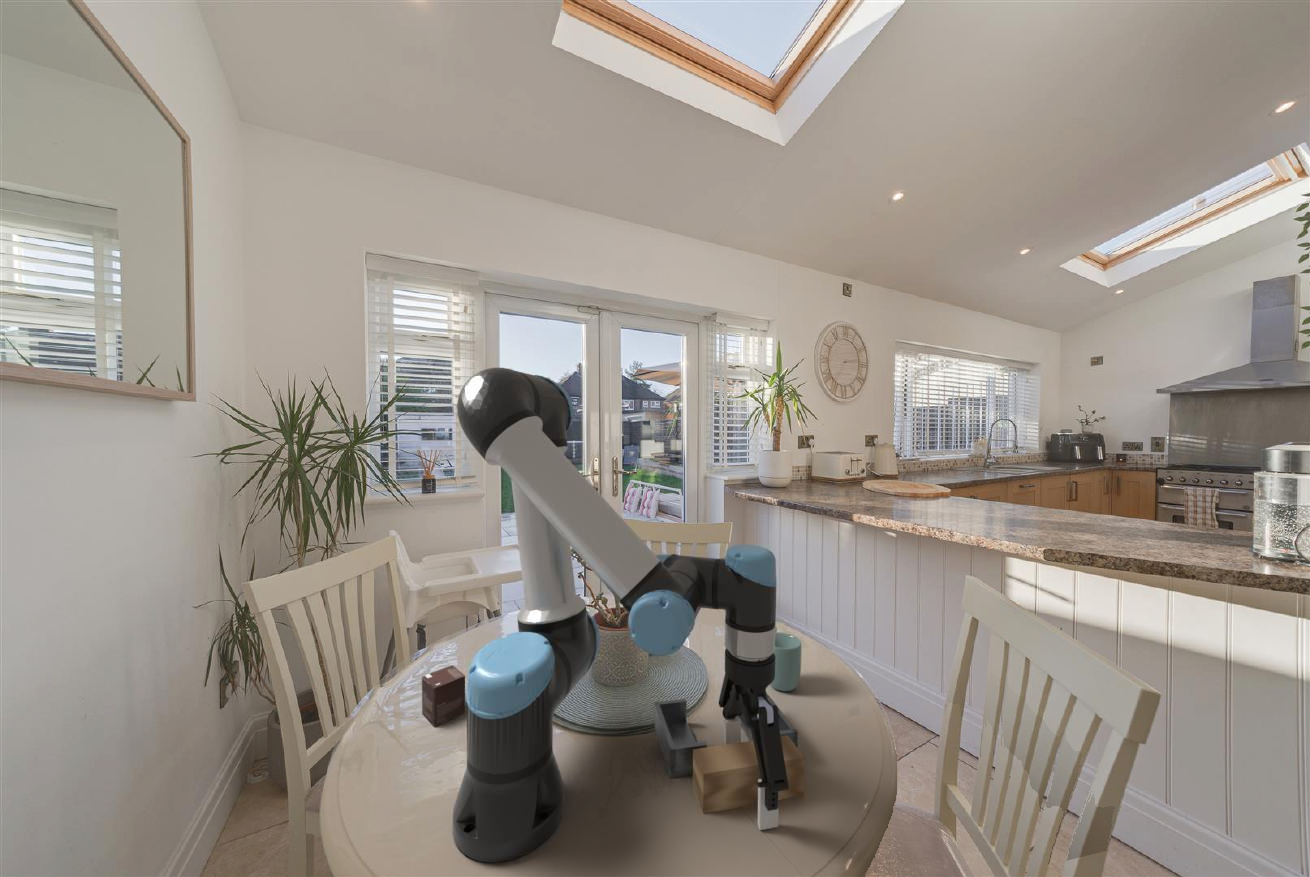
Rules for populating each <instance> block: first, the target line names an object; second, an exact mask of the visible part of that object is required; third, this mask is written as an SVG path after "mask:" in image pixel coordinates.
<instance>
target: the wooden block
mask: <svg viewBox="0 0 1310 877" xmlns="http://www.w3.org/2000/svg"><path fill="white" fill-rule="evenodd" d="M781 742H782V748H783V755H784V761H785V767H786V773H787V779H788V786H789V789H788V790H784V791H779V796H778V801H780V800H785V799H790V798H797V797H802V796H805V757H804V755H803V754H802V752H801V751H800V750H799V748H798V746H797V747H796V746H795V744H794V743H793V742H792V740H791V739H790V738H789V736H788V735H787V736H781ZM758 779H761V775H760V770H759V766H758V761H757V756H756V751H755V747H754V742H753V741H750V740H749V741H748V740H746V741H741V742H740V743H734V744H727V745H724V744H722V745H715V746H714V745H713V746H707V748H700V749H693V775H692V788H693V791H694V794H695V797H696V800H697V801H698V805H699V807H700V810H701V812H702V814H708V813H714V812H720V811H725V810H731V809H736V808H741V807H748V806H753V805H758V785H757V782H758Z"/></svg>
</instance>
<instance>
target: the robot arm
mask: <svg viewBox="0 0 1310 877" xmlns="http://www.w3.org/2000/svg"><path fill="white" fill-rule="evenodd" d="M574 409H575V408H574V404H573V401H572V399H571V397H570V394H569V393H568V392H567V391H566V389H565V388H564V387H563V386H562V385H561V384H559V383H557V382H556V381H554V380H551V379H550V378H548V377H545V376H543V375H538V374H530V373H527V372H522V371H517V370H515V369H510V368H505V367H491V368H486V369H483V370H480V371H478V372H476V373H475V374H472V376H470V378H468V379H467V381H466V382H465V383H464V384H463V386H462V388H461V389H460V392H459V394H458V398H457V403H456V410H457V418H458V421H459V424H460V427H461V429H462V431H463V432H464V436H466V438H467V440H468V441H469V443H470V444H471V446H473V448H474V450H476V452H477V453H478V454H479V455H480V456H481V457H482V458H483V460H485V462H486V463H487V464H488V465H491V466H500V467H501V468H502V470H503V471H504V472H505V473H506V474H507V475H508V477H509V478H510V480H511V488H512V498H513V506H514V515H515V524H516V526H515V527H516V532H517V533H516V534H517V542H518V551H519V552H518V554H519V560H520V569H521V578H522V585H523V586H522V588H523V595H524V596H523V598H524V604H523V606H522V608H520V610H519V611H518V613H517V615H516V617H517V626H518V628H517V629H518V632H513V633H509V634H507V635H506V636H505V637H498V638H495V639H493V640H492V641H489V642H488V643H487V644H485V645H484V646H483V647H481V648H480V650H479V651H477V652H476V654H475V655H474V656H473V659H472V660H471V662H470V663H469V664H470V665H469V667H468V671H467V682H466V685H465V702H466V769H465V771H464V775H463V778H462V781H461V784H460V787H459V790H458V792H457V796H456V799H455V802H454V805H453V812H452V838H453V840H454V843H455V845H456V847H457V849H458V850H459V851H460V852H461V853H462V854H464V855H465V856H466V855H467V857H468V858H471V859H472V860H475V861H478V862H484V861H485V862H484V863H499V862H506V861H510V860H513V859H517V858H520V857H523V856H525V855H526V854H528V853H530V852H532V851H534V850H536V848H537V847H539V846H541V845H542V844H543V843H544V842H545V841H546V840H548V838H549V837H550V836H551V835H552V834H553V833H554V831H555V830H556V829H557V827H558V825H559V824H560V822H561V820H562V817H563V814H564V810H565V785H564V784H565V783H564V779H563V777H562V773H561V771H560V768H559V765H558V762H557V759H556V756H555V753H554V751H553V750H554V749H553V746H554V744H553V740H554V738H553V736H554V735H553V734H554V728H553V727H554V714H555V711H557V709H558V708H559V707H560V705H561V704H562V702H563V701H565V699H566V698H567V696H568V695H569V694H570V693H571V691H572V690H573V689H574V688H575V687H576V686H577V684H579V682H580V681H581V679H582V678H583V677H584V676H585V675H587V672H589V671H590V669H591V667H592V665H593V664H594V661H595V660H596V658H597V655H598V652H599V649H600V645H601V644H600V642H601V634H600V629H599V626H598V624H597V621H596V620H595V618H594V616H591V615H590V612H589V611H588V610H587V604H586V601H585V599H584V598H583V597H580V596H579V595H578V594H577V593H576V592H577V591H576V585H575V577H574V575H575V574H574V568H573V567H574V566H573V557H572V550H571V548H572V549H573V550H574V551H575V553H576V554H577V555H578V556H579V557H580V558H581V560H583V561H584V564H586V565H587V566H588V567H589V569H591V571H592V572H593V573H594V574H595V575H596V577H597V578H598V579H599V580H600V582H602V583H603V584H604V585H605V587H606V588H607V589H608V590H609V591H610V593H611V594H612V595H613V596H614V597H615V598H616V599H617V600H618V602H619V603H620V604H621V605H622V606H623V608H624V610H626V611H627V613H628V614H629V615H628V619H627V620H628V623H627V626H628V629H629V633H630V636H631V639H632V640H633V642H634V643H635V645H636V646H637V647H638V648H640V650H641V651H644V652H645V653H647V654H650V655H652V656H659V657H661V656H663V657H664V656H668V655H672V654H674V653H675V652H677V651H679V650H680V648H682V647H683V645H684V644H685V642H686V640H687V638H689V636H690V635H691V633H692V631H693V630H694V628H695V627H694V626H695V623H696V620H697V617H698V615H699V612H700V611H701V609H711V610H723V611H724V612H725V614H724V615H725V619H724V646H725V649H724V676H723V681H722V686H721V690H720V694H719V697H718V706H719V708H723V709H722V717H723V718H724V720H723V745H727V744H734V743H740V742H742V727H741V720H740V718H736V716H742V712H741V711H742V709H743V711H744V715H745V720H746V724H747V726H748V727H749V728H750V729H751V733H752V737H753V742H754V747H755V751H756V756H757V761H758V766H759V770H760V775H761V779H758V782H757V785H758V804H757V827H758V829H759V831H764V830H770V829H774V828H779V800H778V796H779V791H784V790H788V789H789V786H788V779H787V773H786V767H785V761H784V755H783V748H782V742H781V736H780V730H779V717H778V708H779V707H778V708H777V706H778V705H777V704H776V705H777V706H776V705H771V706H770V705H769V704H768V699H767V694H768V693H767V688H768V687H769V685H770V684H771V683H772V682H773V680H774V679H775V654H774V652H775V632H777V631H778V628H777V626H776V619H777V618H776V615H777V613H776V612H777V610H776V608H777V566H776V564H777V563H776V562H777V560H776V556H775V555H774V553H773V552H772V551H771V550H770V549H768V548H766V547H764V546H760V545H755V544H744V545H740V544H735V545H732V546H729V547H728V548H727V549H726V551H725V552H726V553H725V556H724V558H722V557H721V558H715V557H713V558H712V557H704V556H703V557H701V556H689V555H679V554H677V553H671V554H655V553H654V552H653V551H652V550H651V548H650V547H648V545H647V544H646V543H645V542H644V541H643V540H642V539H641V538H640V536H638V535H637V534H636V532H635V531H634V530H633V529H632V528H631V527H630V526H629V524H628V523H627V522H626V521H625V520H624V519H623V518H622V517H621V516H620V515H619V514H618V512H617V511H616V510H615V509H614V508H613V507H612V506H611V504H610V503H609V502H608V501H607V500H606V499H605V498H604V497H603V496H602V495H601V493H599V492H598V490H597V489H595V487H594V486H593V485H592V484H591V482H590V481H588V479H587V478H586V477H585V476H584V475H583V474H582V473H581V472H580V471H579V470H578V469H577V467H576V466H575V465H574V464H573V463H572V462H571V461H570V460H569V459H568V457H566V455H565V453H566V452H567V450H568V448H569V447H568V446H569V444H568V436H567V433H568V432H569V430H570V428H571V427H572V425H573V422H574V419H575V418H574V417H575V416H574V415H575V410H574ZM770 686H771V685H770ZM766 693H767V694H766ZM753 717H758V719H759V720H752V718H753Z"/></svg>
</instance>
